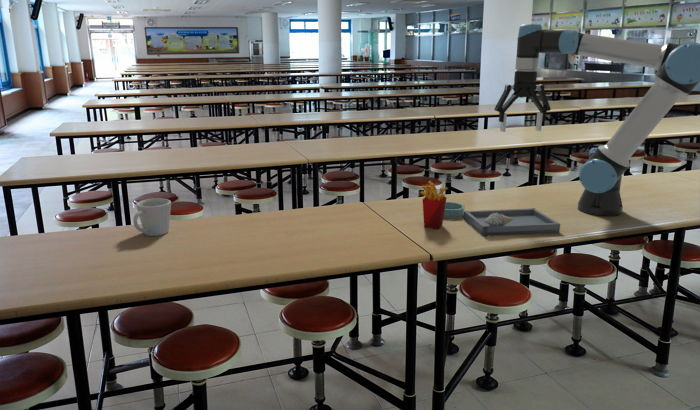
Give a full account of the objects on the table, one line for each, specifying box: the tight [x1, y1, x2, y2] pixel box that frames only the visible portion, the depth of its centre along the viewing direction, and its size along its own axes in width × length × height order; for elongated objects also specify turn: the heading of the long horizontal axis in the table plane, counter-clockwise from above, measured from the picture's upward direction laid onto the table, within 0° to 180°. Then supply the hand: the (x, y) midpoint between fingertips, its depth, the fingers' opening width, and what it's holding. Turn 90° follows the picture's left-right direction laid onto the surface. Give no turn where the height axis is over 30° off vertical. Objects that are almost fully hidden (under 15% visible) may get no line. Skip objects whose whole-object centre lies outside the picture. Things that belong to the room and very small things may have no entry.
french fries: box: [419, 180, 449, 230], centre depth 183 cm, size 9×8×15 cm
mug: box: [132, 197, 172, 237], centre depth 174 cm, size 10×15×10 cm
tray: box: [463, 207, 561, 237], centre depth 186 cm, size 26×18×3 cm
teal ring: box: [443, 201, 466, 219], centre depth 198 cm, size 11×11×3 cm
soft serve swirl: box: [484, 213, 513, 226], centre depth 180 cm, size 5×5×15 cm
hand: (520, 131), depth 200 cm, fingers open, 13 cm apart
